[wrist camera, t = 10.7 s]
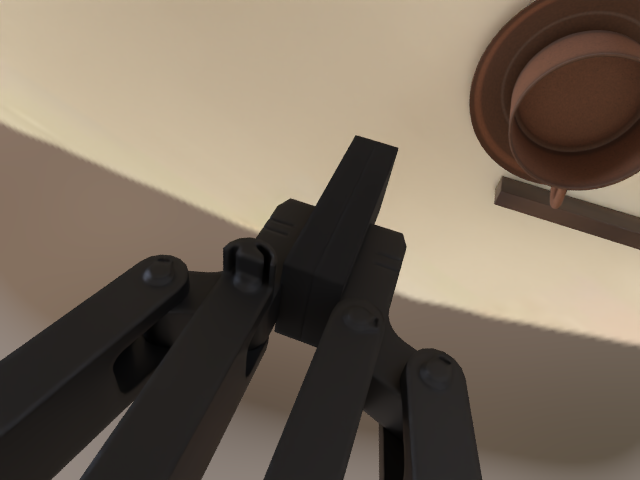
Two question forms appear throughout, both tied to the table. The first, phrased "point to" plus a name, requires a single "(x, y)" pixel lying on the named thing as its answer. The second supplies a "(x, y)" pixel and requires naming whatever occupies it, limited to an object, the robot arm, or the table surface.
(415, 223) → the table surface
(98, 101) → the table surface
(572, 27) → the cup and saucer
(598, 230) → the bay
